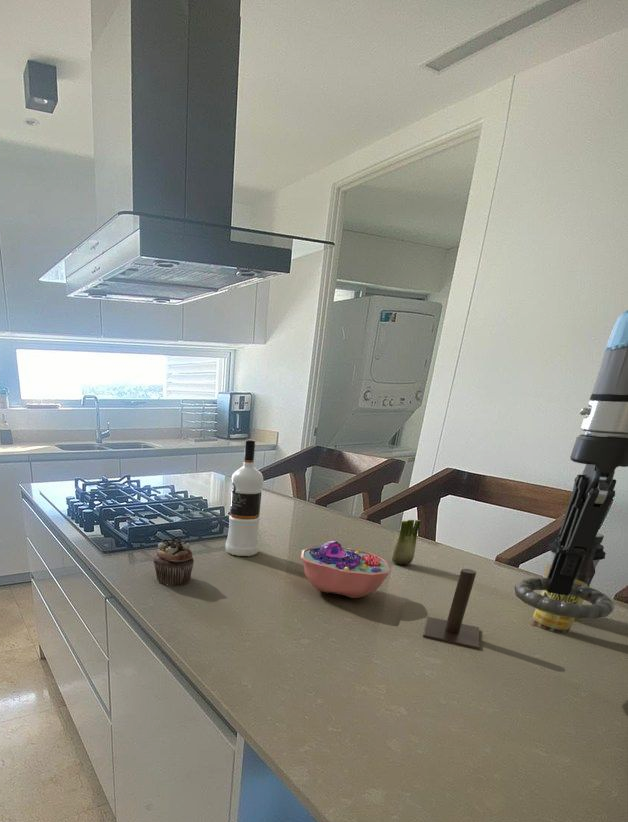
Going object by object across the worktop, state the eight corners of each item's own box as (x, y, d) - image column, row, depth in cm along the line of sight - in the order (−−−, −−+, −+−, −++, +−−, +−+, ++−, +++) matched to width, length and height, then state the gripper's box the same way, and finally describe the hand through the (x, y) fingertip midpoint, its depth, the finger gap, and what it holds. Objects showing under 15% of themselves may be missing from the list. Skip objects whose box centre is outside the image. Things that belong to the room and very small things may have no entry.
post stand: (477, 634, 93) (497, 568, 88) (477, 654, 86) (499, 584, 80) (425, 623, 97) (442, 559, 92) (421, 641, 90) (439, 573, 84)
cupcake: (201, 579, 116) (203, 539, 112) (173, 590, 110) (174, 548, 106) (173, 569, 122) (173, 530, 118) (144, 579, 116) (144, 539, 112)
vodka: (262, 557, 132) (272, 442, 120) (228, 557, 131) (235, 441, 119) (254, 546, 140) (263, 438, 128) (222, 547, 139) (229, 437, 127)
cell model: (353, 618, 99) (363, 565, 94) (280, 586, 113) (285, 539, 108) (400, 599, 108) (411, 550, 103) (326, 572, 122) (333, 528, 118)
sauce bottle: (525, 628, 96) (559, 530, 87) (535, 619, 99) (569, 525, 91) (564, 641, 91) (605, 539, 83) (574, 631, 95) (613, 533, 87)
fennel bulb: (410, 561, 131) (420, 517, 126) (415, 567, 127) (426, 522, 122) (387, 560, 132) (396, 516, 127) (392, 566, 127) (402, 521, 122)
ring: (601, 596, 76) (605, 585, 75) (619, 628, 66) (625, 615, 65) (510, 581, 81) (514, 570, 80) (516, 609, 71) (520, 597, 71)
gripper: (570, 429, 75) (524, 571, 85) (588, 437, 63) (532, 602, 73) (632, 431, 72) (577, 579, 82) (664, 441, 60) (595, 613, 69)
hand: (556, 589), depth 77 cm, fingers closed on ring, 2 cm apart
